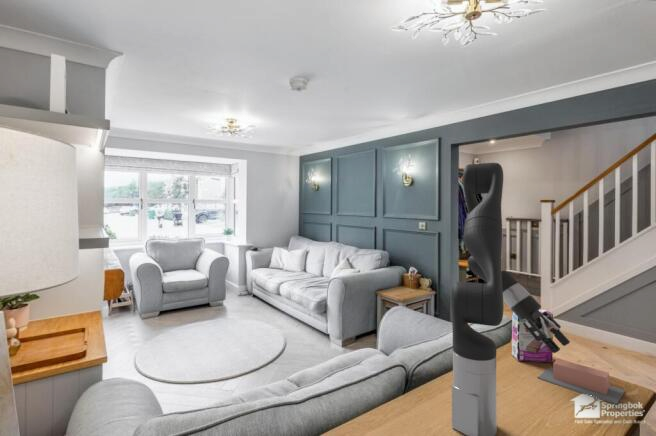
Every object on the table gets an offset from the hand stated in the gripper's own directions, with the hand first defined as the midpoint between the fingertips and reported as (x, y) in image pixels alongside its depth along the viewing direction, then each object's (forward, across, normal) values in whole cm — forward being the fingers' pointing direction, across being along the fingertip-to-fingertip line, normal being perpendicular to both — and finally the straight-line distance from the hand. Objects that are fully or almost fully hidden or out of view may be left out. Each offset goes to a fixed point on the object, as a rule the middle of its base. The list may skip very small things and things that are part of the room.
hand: (562, 347), depth 96 cm
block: (+4, +1, +6) cm, 7 cm away
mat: (+10, +1, +4) cm, 10 cm away
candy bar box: (-1, +9, +15) cm, 17 cm away
